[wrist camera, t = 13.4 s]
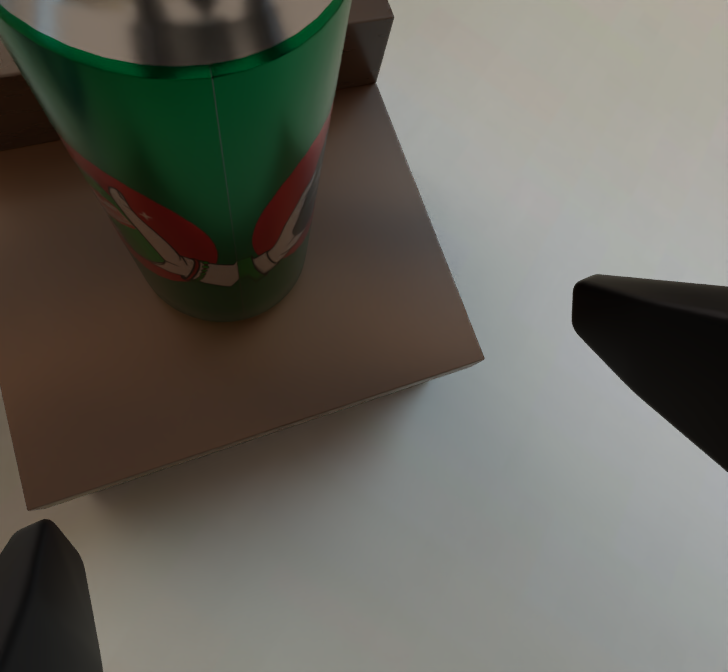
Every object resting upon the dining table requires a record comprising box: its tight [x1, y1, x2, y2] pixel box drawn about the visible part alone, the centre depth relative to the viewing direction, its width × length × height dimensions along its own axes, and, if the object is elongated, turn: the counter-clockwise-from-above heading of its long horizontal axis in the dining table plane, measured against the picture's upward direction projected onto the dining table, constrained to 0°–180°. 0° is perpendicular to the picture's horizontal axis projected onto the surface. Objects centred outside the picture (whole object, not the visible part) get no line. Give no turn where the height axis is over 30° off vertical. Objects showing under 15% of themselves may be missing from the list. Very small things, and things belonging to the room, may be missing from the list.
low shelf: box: [0, 0, 484, 511], centre depth 18 cm, size 12×14×8 cm
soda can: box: [0, 0, 352, 322], centre depth 12 cm, size 5×5×12 cm
